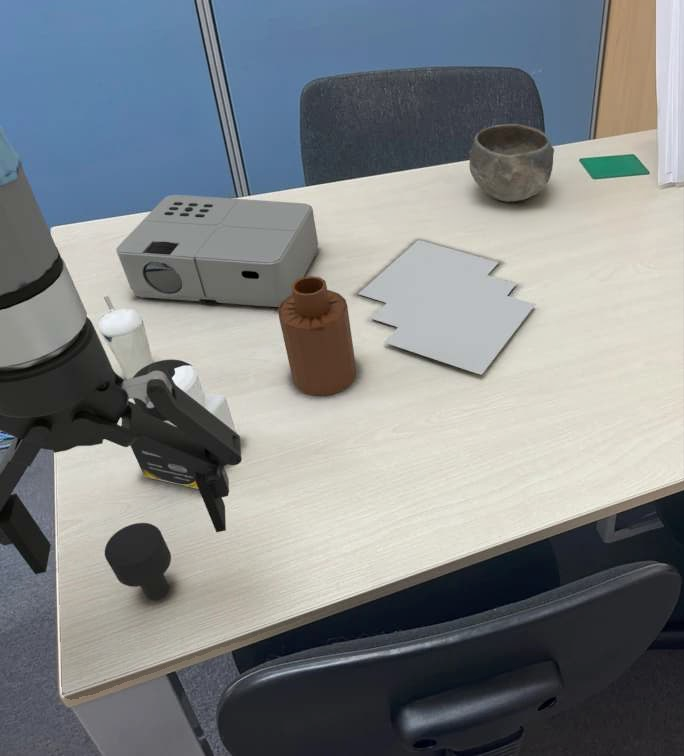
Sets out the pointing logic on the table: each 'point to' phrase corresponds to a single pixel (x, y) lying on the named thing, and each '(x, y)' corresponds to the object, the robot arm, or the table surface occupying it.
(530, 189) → the bowl
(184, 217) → the projector
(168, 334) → the table surface
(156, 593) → the stopper
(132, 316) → the milkshake
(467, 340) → the paper stack
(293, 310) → the bottle
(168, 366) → the medicine bottle
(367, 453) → the table surface
